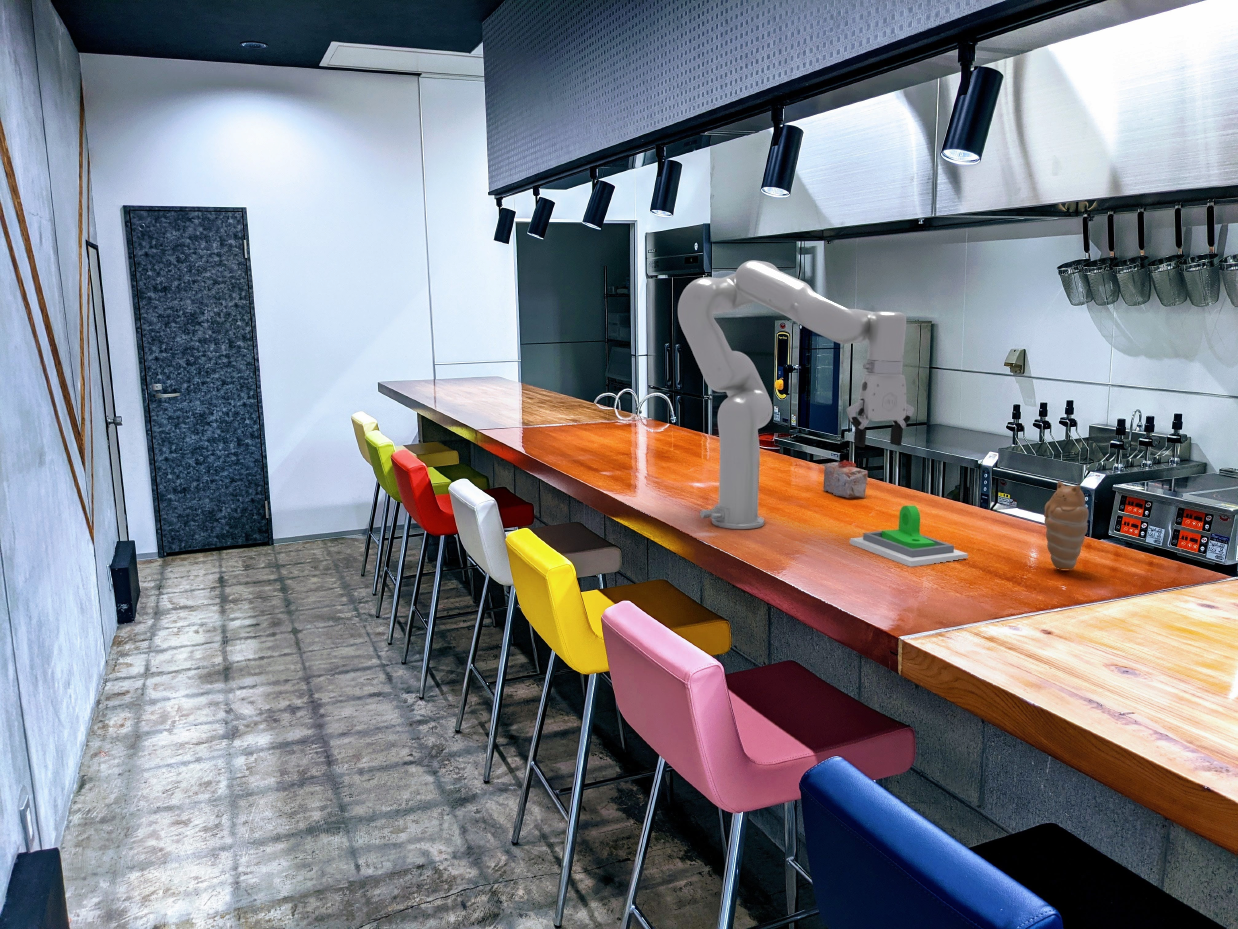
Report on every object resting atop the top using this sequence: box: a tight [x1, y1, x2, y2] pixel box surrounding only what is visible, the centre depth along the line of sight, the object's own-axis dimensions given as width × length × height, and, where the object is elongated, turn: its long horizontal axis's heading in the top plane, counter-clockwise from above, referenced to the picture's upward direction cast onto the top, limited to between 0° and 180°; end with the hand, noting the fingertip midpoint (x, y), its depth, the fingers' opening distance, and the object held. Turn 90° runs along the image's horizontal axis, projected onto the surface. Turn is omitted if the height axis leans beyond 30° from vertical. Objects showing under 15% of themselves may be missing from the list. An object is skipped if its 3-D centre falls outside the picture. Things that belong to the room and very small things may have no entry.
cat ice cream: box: [1043, 480, 1090, 570], centre depth 185 cm, size 9×8×18 cm
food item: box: [822, 459, 869, 499], centre depth 260 cm, size 14×8×10 cm, turn 22°
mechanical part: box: [881, 504, 935, 549], centre depth 201 cm, size 12×6×8 cm, turn 11°
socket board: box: [849, 528, 969, 568], centre depth 201 cm, size 15×20×3 cm
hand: (877, 445), depth 207 cm, fingers open, 9 cm apart
